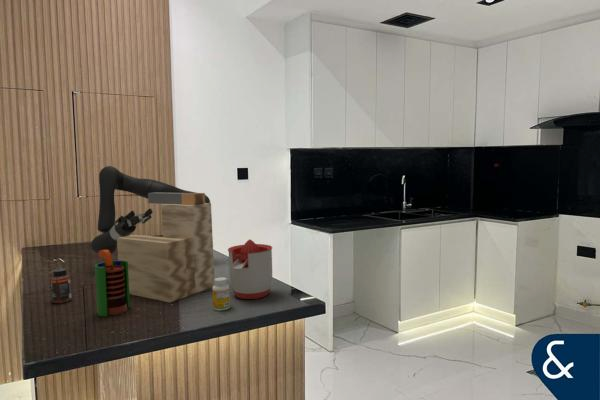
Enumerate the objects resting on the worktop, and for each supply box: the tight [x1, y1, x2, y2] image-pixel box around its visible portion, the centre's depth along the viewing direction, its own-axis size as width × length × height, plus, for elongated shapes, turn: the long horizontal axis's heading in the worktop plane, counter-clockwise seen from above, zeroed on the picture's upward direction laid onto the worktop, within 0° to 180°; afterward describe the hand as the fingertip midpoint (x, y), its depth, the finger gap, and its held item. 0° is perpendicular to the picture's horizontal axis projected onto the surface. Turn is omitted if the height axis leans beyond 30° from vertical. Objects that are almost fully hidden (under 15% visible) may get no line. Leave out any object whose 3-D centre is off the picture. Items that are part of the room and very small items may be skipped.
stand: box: [117, 202, 215, 303], centre depth 167 cm, size 22×27×32 cm
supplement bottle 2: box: [211, 276, 231, 312], centre depth 144 cm, size 5×5×10 cm
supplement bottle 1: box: [50, 268, 72, 304], centre depth 157 cm, size 6×6×11 cm
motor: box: [94, 250, 131, 318], centre depth 144 cm, size 10×9×20 cm
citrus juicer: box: [227, 239, 273, 300], centre depth 156 cm, size 16×17×20 cm
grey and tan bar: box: [147, 192, 206, 205], centre depth 171 cm, size 6×26×4 cm, turn 58°
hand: (142, 211), depth 182 cm, fingers open, 8 cm apart
